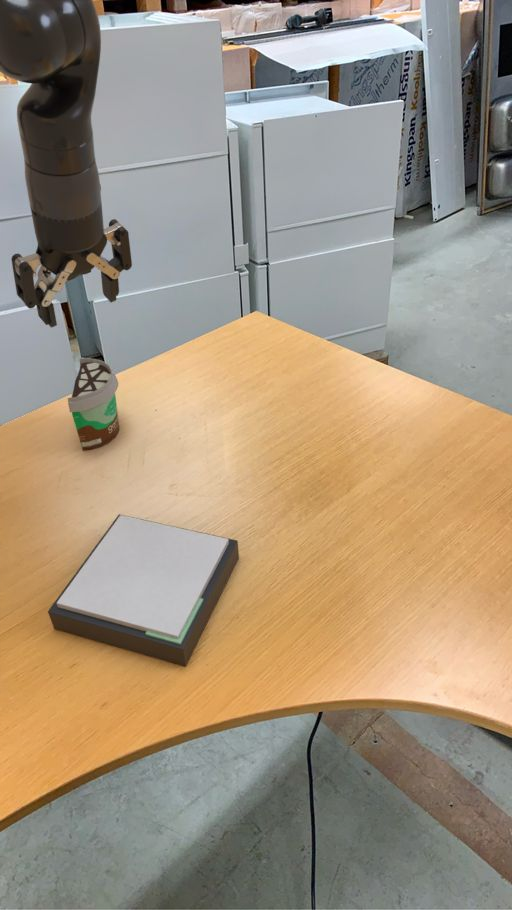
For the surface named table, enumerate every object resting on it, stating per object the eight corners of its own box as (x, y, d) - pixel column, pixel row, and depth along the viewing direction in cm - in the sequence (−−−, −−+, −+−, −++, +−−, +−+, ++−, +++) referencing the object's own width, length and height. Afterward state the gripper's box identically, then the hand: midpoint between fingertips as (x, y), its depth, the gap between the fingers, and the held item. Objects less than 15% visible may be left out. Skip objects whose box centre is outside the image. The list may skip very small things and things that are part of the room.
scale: (53, 628, 72) (45, 606, 70) (122, 530, 84) (117, 509, 82) (185, 666, 68) (181, 644, 65) (239, 557, 80) (237, 535, 77)
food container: (123, 453, 97) (111, 397, 91) (81, 456, 97) (66, 400, 91) (130, 407, 107) (119, 353, 101) (92, 410, 106) (79, 356, 100)
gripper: (104, 161, 75) (113, 274, 88) (-15, 197, 68) (14, 313, 82) (140, 195, 72) (144, 307, 85) (20, 236, 66) (44, 350, 79)
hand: (80, 310), depth 83 cm, fingers open, 8 cm apart
